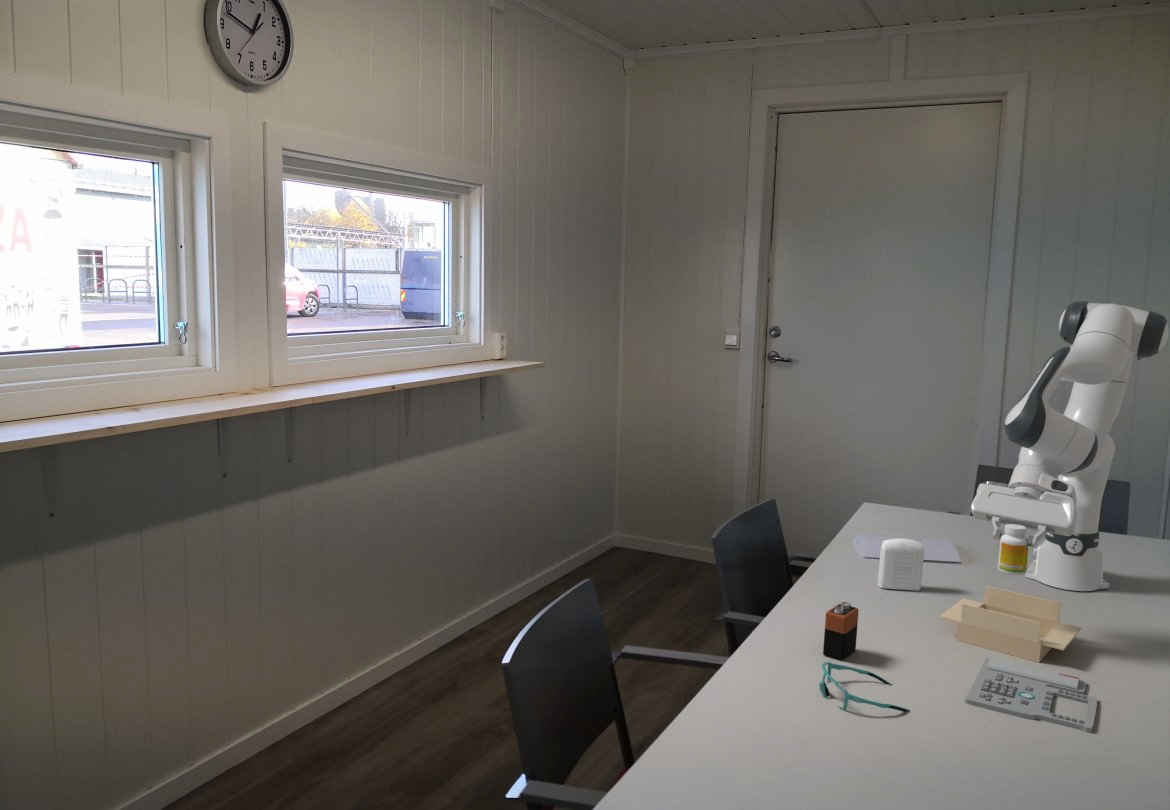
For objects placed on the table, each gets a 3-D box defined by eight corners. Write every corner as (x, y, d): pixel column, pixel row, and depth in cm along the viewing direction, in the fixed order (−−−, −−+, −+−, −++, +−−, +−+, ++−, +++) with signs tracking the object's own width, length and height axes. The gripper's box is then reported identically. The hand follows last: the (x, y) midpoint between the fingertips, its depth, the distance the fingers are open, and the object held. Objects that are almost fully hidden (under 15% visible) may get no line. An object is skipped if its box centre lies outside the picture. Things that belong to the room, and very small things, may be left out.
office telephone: (986, 650, 182) (1101, 675, 171) (985, 662, 182) (1099, 689, 172) (965, 691, 162) (1093, 723, 152) (964, 705, 162) (1091, 738, 152)
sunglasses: (809, 678, 171) (813, 653, 170) (888, 689, 171) (893, 664, 170) (826, 714, 157) (831, 687, 156) (912, 726, 157) (918, 699, 156)
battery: (856, 651, 184) (859, 603, 182) (842, 661, 178) (846, 612, 177) (835, 645, 186) (839, 598, 185) (821, 655, 181) (825, 607, 180)
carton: (962, 614, 206) (965, 580, 204) (1080, 644, 190) (1084, 608, 189) (937, 634, 194) (940, 598, 192) (1061, 668, 178) (1065, 629, 177)
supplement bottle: (1029, 576, 187) (1033, 530, 186) (1001, 574, 188) (1005, 528, 187) (1022, 568, 192) (1026, 523, 191) (995, 566, 193) (998, 522, 192)
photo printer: (917, 586, 224) (922, 537, 222) (923, 592, 220) (927, 542, 218) (875, 584, 225) (879, 535, 223) (879, 589, 221) (883, 540, 219)
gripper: (978, 471, 199) (959, 523, 193) (1082, 488, 186) (1065, 544, 181) (983, 488, 204) (964, 539, 198) (1084, 505, 191) (1068, 560, 185)
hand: (1013, 541), depth 189 cm, fingers closed on supplement bottle, 5 cm apart
